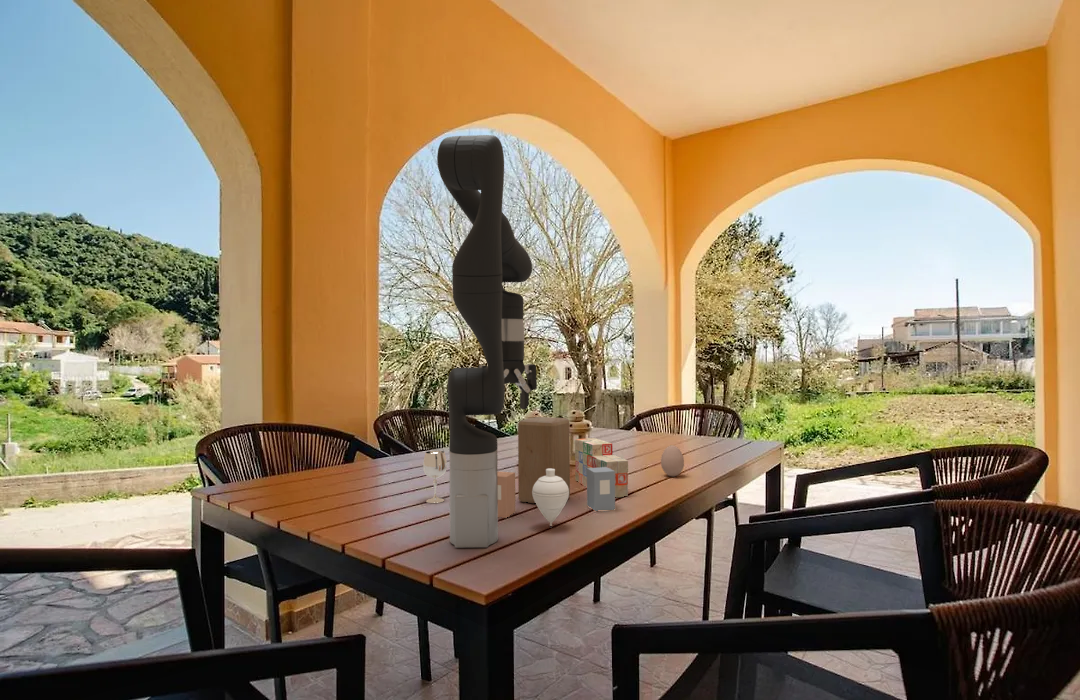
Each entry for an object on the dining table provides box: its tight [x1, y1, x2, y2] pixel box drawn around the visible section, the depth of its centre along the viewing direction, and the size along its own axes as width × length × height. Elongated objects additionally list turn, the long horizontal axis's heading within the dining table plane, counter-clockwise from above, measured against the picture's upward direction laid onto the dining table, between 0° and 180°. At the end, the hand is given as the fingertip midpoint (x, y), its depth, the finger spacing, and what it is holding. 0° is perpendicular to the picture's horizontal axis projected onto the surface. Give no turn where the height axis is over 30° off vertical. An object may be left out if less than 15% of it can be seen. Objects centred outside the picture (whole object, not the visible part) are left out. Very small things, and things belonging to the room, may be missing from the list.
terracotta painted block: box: [497, 470, 516, 519], centre depth 125 cm, size 5×5×9 cm
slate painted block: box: [586, 467, 616, 511], centre depth 129 cm, size 5×5×9 cm
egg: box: [660, 444, 685, 477], centre depth 163 cm, size 7×7×9 cm
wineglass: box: [422, 450, 448, 504], centre depth 137 cm, size 6×6×12 cm
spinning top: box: [532, 468, 570, 527], centre depth 115 cm, size 8×8×12 cm
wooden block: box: [517, 416, 571, 504], centre depth 137 cm, size 10×10×20 cm
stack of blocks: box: [574, 437, 629, 498], centre depth 149 cm, size 21×6×12 cm, turn 18°
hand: (507, 410), depth 127 cm, fingers open, 8 cm apart
